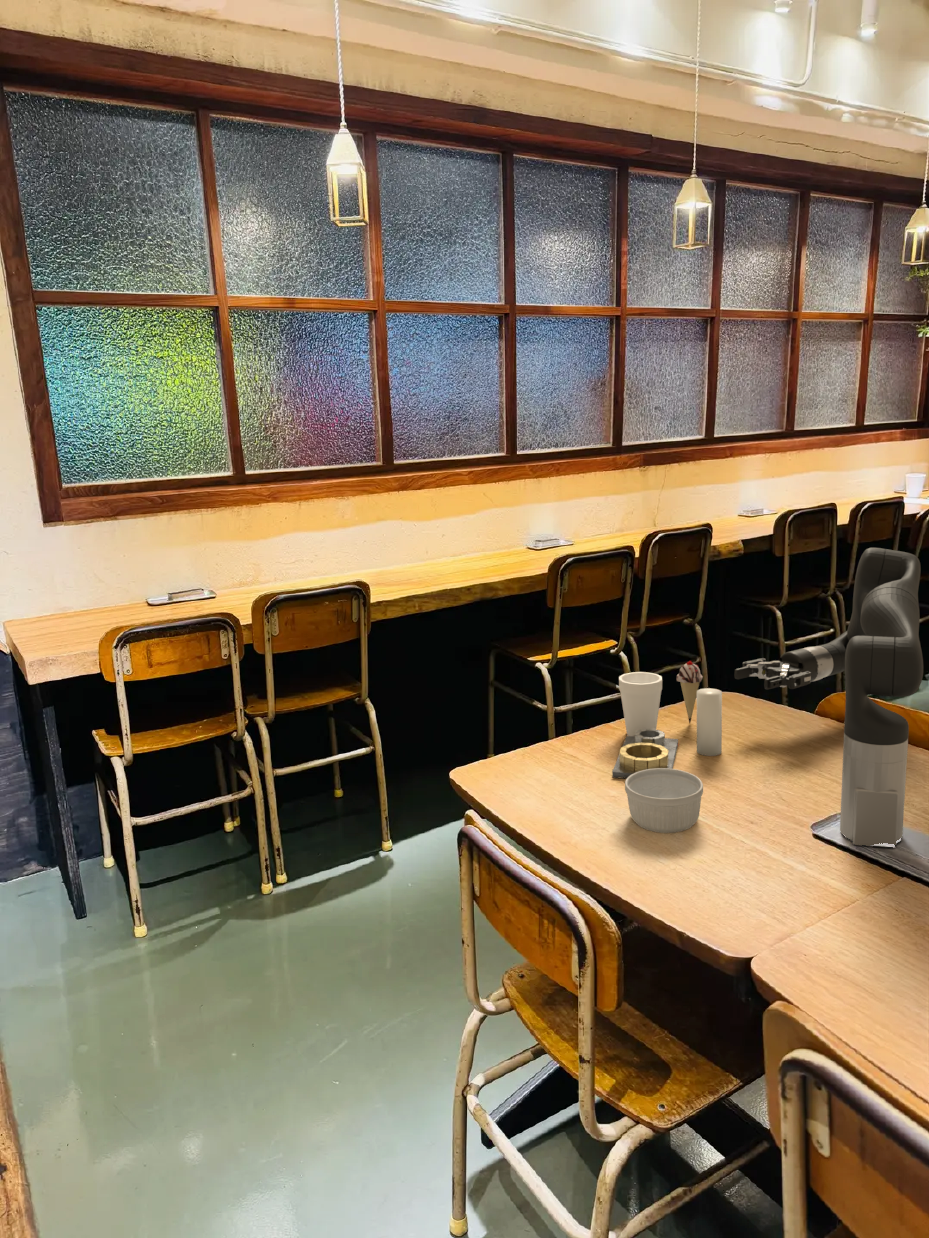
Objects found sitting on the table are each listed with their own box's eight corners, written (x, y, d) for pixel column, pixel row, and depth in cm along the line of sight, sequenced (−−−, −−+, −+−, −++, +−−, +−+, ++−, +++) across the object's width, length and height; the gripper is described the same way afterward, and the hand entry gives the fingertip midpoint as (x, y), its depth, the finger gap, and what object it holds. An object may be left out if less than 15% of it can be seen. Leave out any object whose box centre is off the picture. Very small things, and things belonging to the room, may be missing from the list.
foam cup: (631, 724, 195) (630, 670, 192) (669, 730, 189) (668, 674, 187) (612, 737, 187) (611, 681, 184) (651, 744, 182) (651, 686, 179)
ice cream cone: (671, 722, 194) (671, 660, 191) (691, 718, 196) (691, 656, 193) (688, 730, 189) (687, 665, 185) (708, 725, 191) (708, 661, 188)
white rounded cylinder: (721, 756, 173) (721, 696, 170) (695, 755, 175) (695, 695, 172) (721, 747, 178) (722, 688, 175) (697, 746, 179) (697, 687, 176)
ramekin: (618, 831, 144) (617, 794, 143) (633, 799, 156) (632, 764, 155) (698, 841, 139) (698, 802, 138) (707, 807, 151) (707, 771, 150)
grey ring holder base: (669, 781, 163) (669, 763, 162) (612, 777, 166) (612, 759, 165) (678, 744, 181) (678, 727, 180) (626, 741, 185) (626, 725, 184)
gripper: (781, 642, 190) (726, 655, 183) (833, 656, 178) (776, 670, 171) (780, 673, 192) (726, 687, 185) (832, 689, 179) (775, 705, 173)
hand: (750, 679), depth 178 cm, fingers open, 8 cm apart
